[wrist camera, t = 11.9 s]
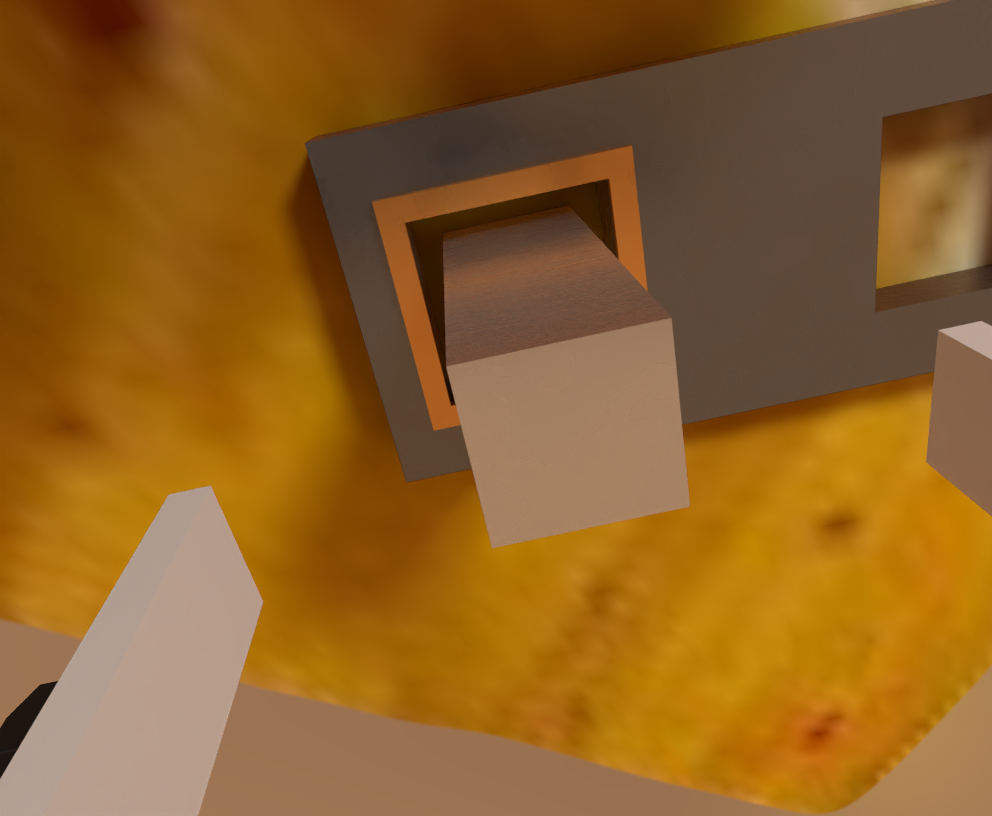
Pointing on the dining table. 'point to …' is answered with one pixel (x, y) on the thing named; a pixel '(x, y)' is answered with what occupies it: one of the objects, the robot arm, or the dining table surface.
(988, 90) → the grey peg board
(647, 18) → the dining table surface
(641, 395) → the peg
